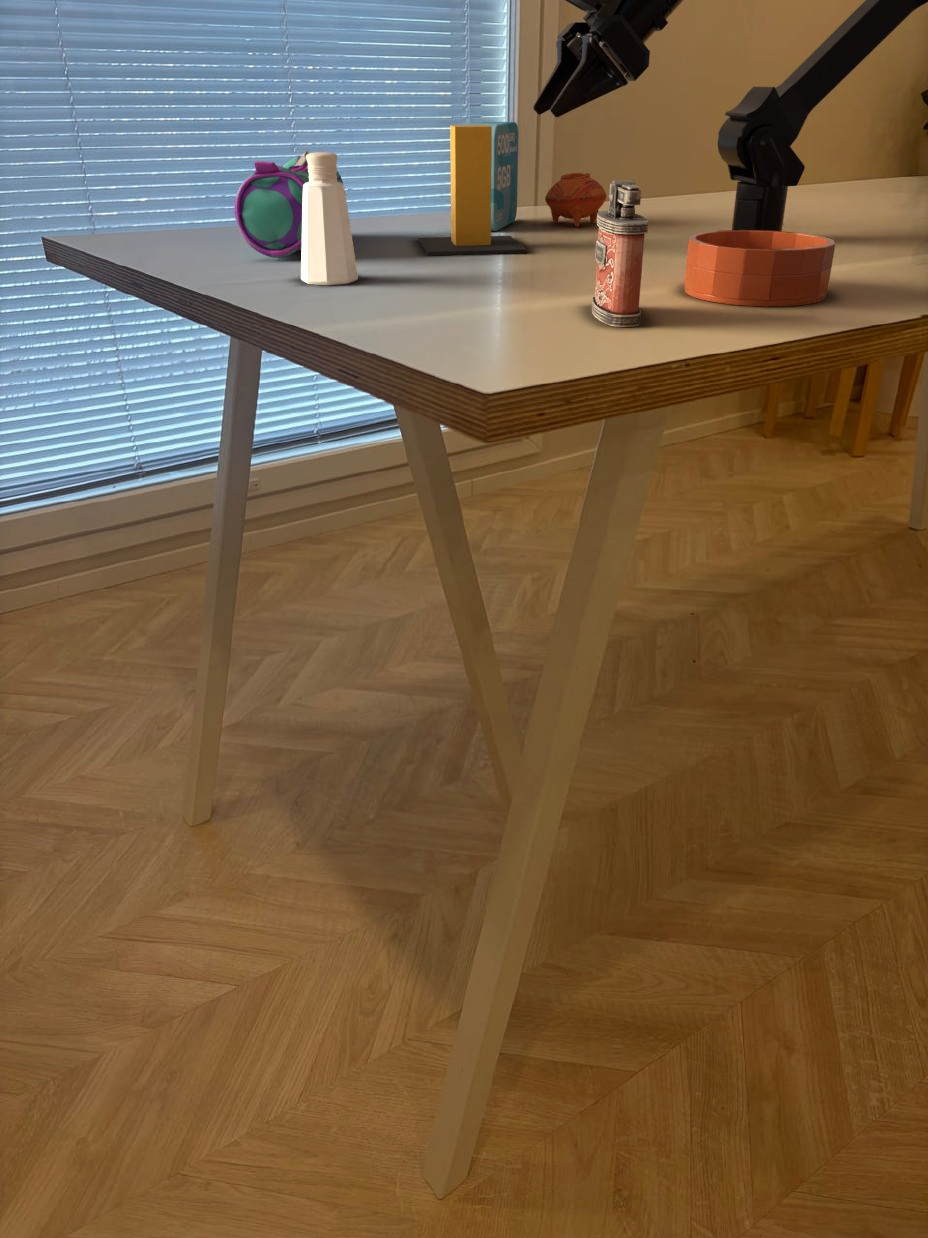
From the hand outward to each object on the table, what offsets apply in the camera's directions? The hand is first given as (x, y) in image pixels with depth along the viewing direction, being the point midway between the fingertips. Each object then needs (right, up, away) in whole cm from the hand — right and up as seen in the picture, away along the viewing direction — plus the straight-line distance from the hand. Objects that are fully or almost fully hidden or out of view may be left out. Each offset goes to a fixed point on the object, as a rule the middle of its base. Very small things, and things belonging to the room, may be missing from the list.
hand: (544, 112), depth 108 cm
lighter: (+3, -31, -27) cm, 41 cm away
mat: (-8, -12, +6) cm, 16 cm away
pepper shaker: (-22, -23, -13) cm, 34 cm away
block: (-8, -12, +5) cm, 15 cm away
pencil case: (-28, -13, +6) cm, 31 cm away
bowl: (+17, -26, -19) cm, 36 cm away
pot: (+6, -3, +23) cm, 24 cm away
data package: (-5, -4, +22) cm, 23 cm away
